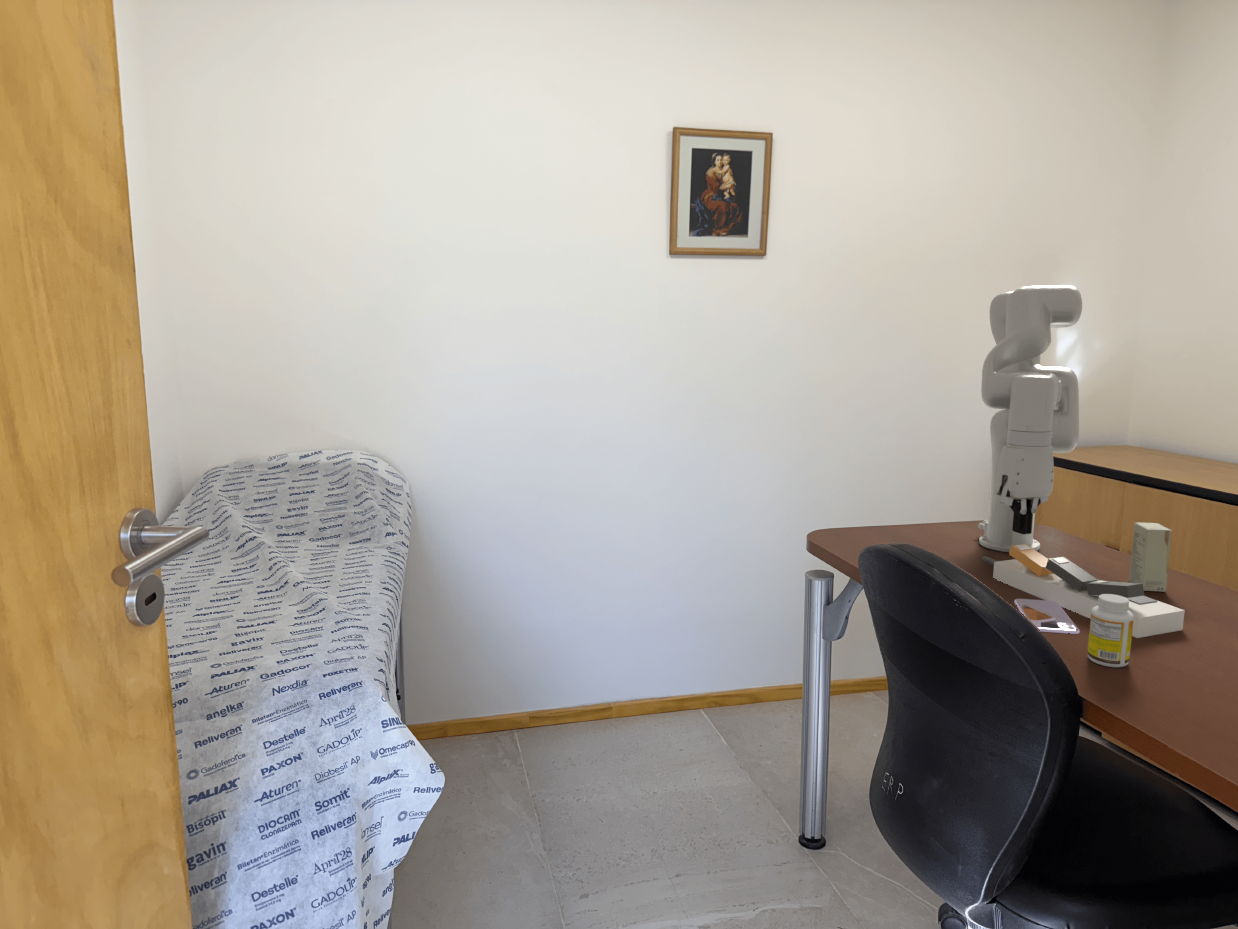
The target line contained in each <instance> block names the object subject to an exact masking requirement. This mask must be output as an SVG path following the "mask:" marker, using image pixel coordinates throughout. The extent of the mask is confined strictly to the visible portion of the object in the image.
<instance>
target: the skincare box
mask: <svg viewBox="0 0 1238 929" xmlns="http://www.w3.org/2000/svg"><path fill="white" fill-rule="evenodd" d="M1172 534H1173V532H1172V529H1171V528H1168V527H1166V526H1164V525H1162V524H1160V523H1158V522H1139V521H1137V522H1134V525H1133V536H1132V546H1131V548H1132V549H1131V558H1130V568H1129V579H1128V581H1130V582H1129V583H1143V588H1144V592H1162V593H1163V592H1164V593H1166V591H1167V586H1168V584H1167V583H1168V573H1169V564H1170V554H1171V544H1172Z"/></svg>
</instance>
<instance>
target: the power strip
mask: <svg viewBox="0 0 1238 929" xmlns="http://www.w3.org/2000/svg"><path fill="white" fill-rule="evenodd" d="M981 560H982V562H983V563H986V564H989V565H991V566H993V570H992V571H993V574H992V579H993V578H995V579H997V580H996V581H998V582H1000V581H1001V582H1000V583H1002V582H1003V584H1004V585H1007V584H1008V586H1010V587H1012V588H1015V589H1017V590H1019V591H1022V592H1024V593H1027V594H1029V595H1031V596H1033V597H1034V596H1035V597H1037V598H1039V599H1040V600H1046V601H1054V602H1056V603H1058V604H1059V605H1060V606H1061V607H1062V608H1063V609H1065V608H1066V610H1068V611H1070V610H1071V612H1073V613H1075V612H1076V614H1077V613H1078V614H1077V615H1080V616H1082V617H1085V618H1088V619H1090V620H1091V610H1092V608H1093V607H1095V606H1098V598H1099V596H1098V595H1088V592H1087V590H1085V591H1078V590H1077V589H1075V588H1074V587H1072V586H1071V585H1069V584H1068V583H1067V582H1065V581H1064V580H1062V579H1061V578H1060V577H1058V576H1057V575H1055V574H1051V575H1044V576H1038V575H1037V574H1036V573H1034V572H1033V571H1031V570H1030V569H1029V568H1027V567H1026V566H1024V565H1023V564H1022V563H1020V562H1019V561H1018V560H1016V559H1015V558H1013V559H1008V560H1007V559H1005V560H996V559H993V558H991V557H987V556H983V557H982V559H981ZM995 579H994V580H995ZM1098 581H1102V580H1101V579H1098ZM1127 599H1128V600H1129V608H1128V610H1129V611H1130V612H1132V614H1133V616H1134V620H1133V630H1132V638H1135V639H1139V638H1140V639H1141V638H1145V637H1151V636H1157V635H1163V634H1168V633H1173V632H1179V631H1180V632H1181V631H1183V629H1184V620H1185V612H1186V611H1185V609H1182V608H1181V607H1180V608H1179V607H1176V606H1175V605H1171V604H1168V603H1165V602H1162V601H1159V600H1156V599H1154V598H1151V597H1149V596H1146V595H1144V596H1138V597H1131V598H1127Z"/></svg>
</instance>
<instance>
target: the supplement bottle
mask: <svg viewBox="0 0 1238 929" xmlns="http://www.w3.org/2000/svg"><path fill="white" fill-rule="evenodd" d="M1128 608H1129V600H1128V599H1127V598H1125V597H1122V596H1119V595H1114V594H1101V595H1099V598H1098V606H1095V607H1093V608H1092V610H1091V619H1090V620H1089V621H1090V623H1089V632H1088V642H1087V643H1088V644H1087V657H1088V659H1089V660H1090V661H1091V662H1093V663H1095V664H1097V665H1101V666H1104V667H1109V668H1124V667H1126V666H1128V665H1129V663H1130V659H1131V658H1130V657H1131V648H1132V638H1133V636H1132V630H1133V620H1134V616H1133V614H1132V612H1130V611H1129V610H1128Z"/></svg>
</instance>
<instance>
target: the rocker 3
mask: <svg viewBox="0 0 1238 929" xmlns="http://www.w3.org/2000/svg"><path fill="white" fill-rule="evenodd" d="M1086 584H1087V592H1088V595H1098V596H1099V595H1101V594H1114V595H1119V596H1122V597H1125V598H1131V597H1138V596H1145V591H1144V588H1143V583H1131V582H1127V581H1126V582H1125V581H1123V582H1122V581H1109V580H1101V581H1096V582H1091V583H1086Z"/></svg>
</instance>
